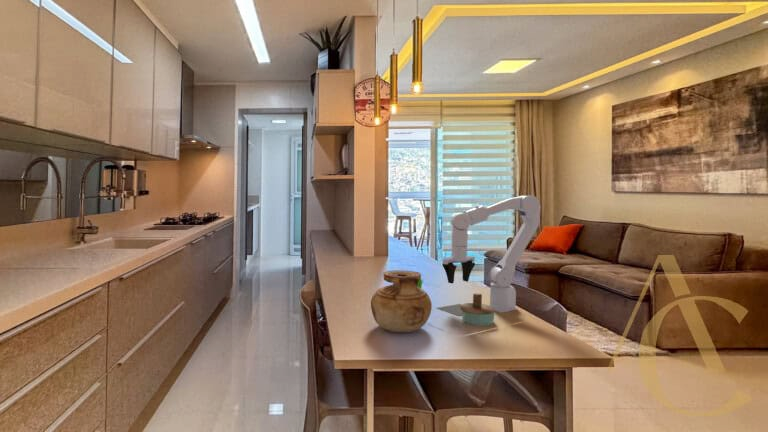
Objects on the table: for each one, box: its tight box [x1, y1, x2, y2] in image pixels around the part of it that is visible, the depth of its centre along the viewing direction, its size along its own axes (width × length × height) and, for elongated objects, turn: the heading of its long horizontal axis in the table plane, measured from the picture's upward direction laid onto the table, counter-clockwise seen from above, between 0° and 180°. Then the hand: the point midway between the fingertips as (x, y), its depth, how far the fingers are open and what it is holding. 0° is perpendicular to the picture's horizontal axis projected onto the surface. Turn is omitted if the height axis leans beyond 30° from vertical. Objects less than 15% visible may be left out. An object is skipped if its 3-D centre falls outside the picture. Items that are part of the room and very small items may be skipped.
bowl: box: [461, 311, 495, 327], centre depth 138 cm, size 10×10×4 cm
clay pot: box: [370, 270, 433, 334], centre depth 130 cm, size 19×19×20 cm
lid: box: [460, 292, 495, 314], centre depth 139 cm, size 11×11×5 cm
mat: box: [436, 303, 463, 317], centre depth 152 cm, size 12×12×1 cm
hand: (458, 282), depth 155 cm, fingers open, 7 cm apart
